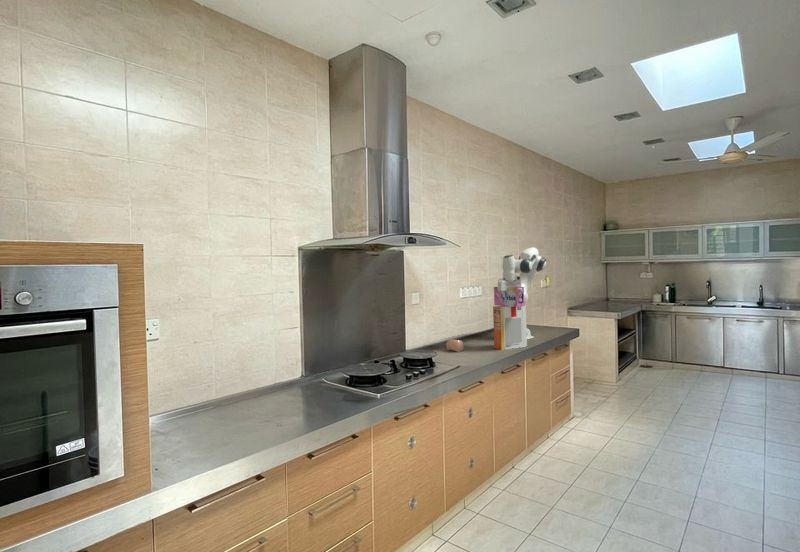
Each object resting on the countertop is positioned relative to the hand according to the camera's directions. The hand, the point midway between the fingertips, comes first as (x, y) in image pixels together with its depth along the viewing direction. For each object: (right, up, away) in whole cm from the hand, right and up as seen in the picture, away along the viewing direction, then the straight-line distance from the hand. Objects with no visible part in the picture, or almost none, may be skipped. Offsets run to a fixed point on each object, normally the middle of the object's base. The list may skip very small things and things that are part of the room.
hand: (509, 297), depth 306 cm
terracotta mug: (-42, -34, -1) cm, 54 cm away
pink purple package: (0, -6, +1) cm, 6 cm away
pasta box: (+1, -36, +1) cm, 36 cm away
